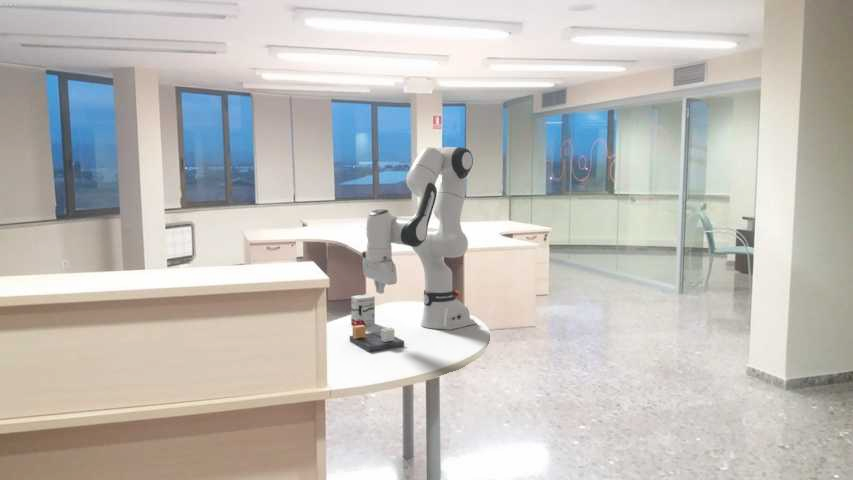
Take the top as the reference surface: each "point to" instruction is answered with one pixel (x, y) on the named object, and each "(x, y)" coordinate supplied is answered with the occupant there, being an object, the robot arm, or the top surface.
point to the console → (376, 342)
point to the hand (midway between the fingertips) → (380, 292)
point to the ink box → (363, 310)
